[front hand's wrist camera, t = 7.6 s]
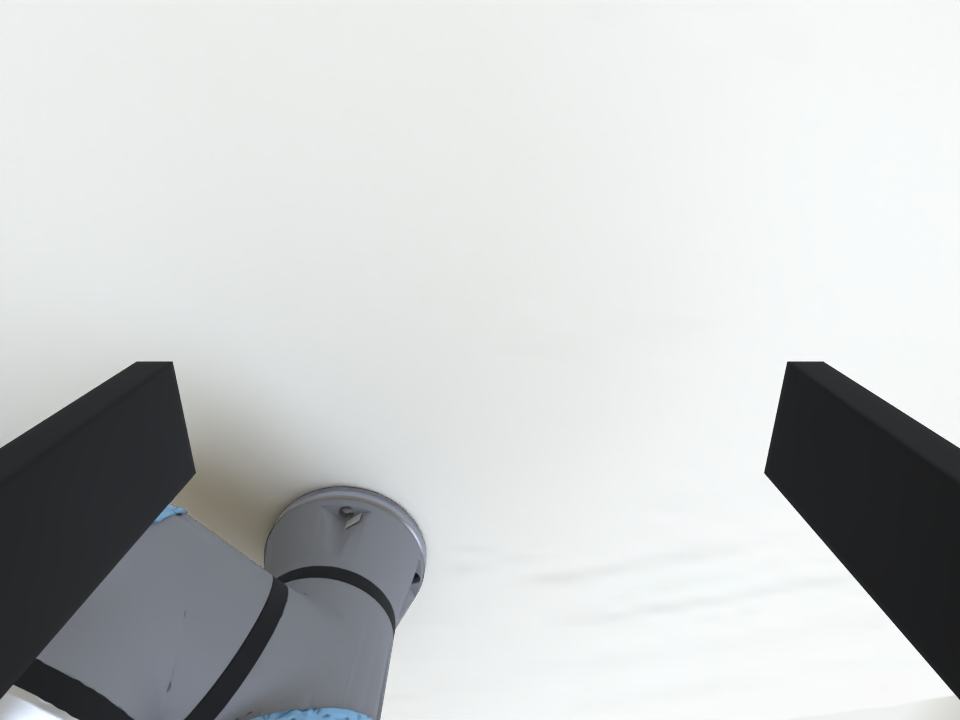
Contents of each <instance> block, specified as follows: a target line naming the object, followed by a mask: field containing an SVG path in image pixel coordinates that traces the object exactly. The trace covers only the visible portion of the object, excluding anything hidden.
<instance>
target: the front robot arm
mask: <svg viewBox="0 0 960 720" xmlns="http://www.w3.org/2000/svg"><path fill="white" fill-rule="evenodd" d="M195 473H196V472H195V467H194V462H193V457H192V452H191V447H190V443H189V438H188V433H187V428H186V423H185V419H184V414H183V409H182V404H181V399H180V395H179V390H178V385H177V380H176V375H175V371H174V366H173V362H135V363H134V364H132V365H131V366H129V367H127V368H126V369H124V370H123V371H121V372H120V373H118V374H116V375H115V376H113V377H112V378H110V379H109V380H107V381H105V382H104V383H102V384H101V385H99V386H98V387H96V388H94V389H93V390H91V391H90V392H88V393H87V394H85V395H83V396H82V397H80V398H79V399H77V400H76V401H74V402H72V403H71V404H69V405H68V406H66V407H65V408H63V409H61V410H60V411H58V412H57V413H55V414H54V415H52V416H50V417H49V418H47V419H46V420H44V421H43V422H41V423H39V424H38V425H36V426H35V427H33V428H32V429H30V430H28V431H27V432H25V433H24V434H22V435H20V436H19V437H17V438H16V439H14V440H13V441H11V442H9V443H8V444H6V445H5V446H3V447H2V448H0V720H380V717H381V712H382V706H383V700H384V694H385V688H386V682H387V676H388V670H389V664H390V658H391V652H392V646H393V639H394V633H395V629H396V627H397V626H398V624H399V622H400V621H401V619H402V618H403V616H404V614H405V613H406V611H407V610H408V608H409V606H410V605H411V603H412V602H413V600H414V598H415V597H416V595H417V593H418V591H419V589H420V587H421V585H422V582H423V578H424V572H425V564H426V547H425V542H424V539H423V536H422V534H421V531H420V529H419V528H418V526H417V524H416V523H415V522H414V520H413V519H412V518H411V517H410V515H409V514H408V513H407V512H406V511H405V510H404V509H402V508H401V507H400V506H399V505H397V504H396V503H394V502H393V501H391V500H390V499H388V498H386V497H384V496H382V495H379V494H377V493H374V492H371V491H368V490H364V489H359V488H352V487H332V488H325V489H320V490H317V491H313V492H311V493H308V494H306V495H304V496H302V497H300V498H298V499H297V500H295V501H294V502H292V503H291V504H290V505H289V506H288V507H287V508H286V509H285V510H284V511H283V512H282V513H281V514H280V516H279V517H278V519H277V521H276V522H275V524H274V526H273V528H272V530H271V532H270V534H269V536H268V538H267V541H266V545H265V550H264V569H263V568H261V567H260V566H259V565H257V564H256V563H254V562H253V561H251V560H250V559H249V558H247V557H246V556H245V555H243V554H242V553H240V552H239V551H238V550H236V549H235V548H233V547H232V546H231V545H229V544H228V543H226V542H225V541H224V540H222V539H221V538H219V537H218V536H217V535H215V534H214V533H213V532H211V531H210V530H208V529H207V528H206V527H204V526H203V525H201V524H200V523H199V522H197V521H196V520H194V519H193V518H192V517H190V516H189V515H187V511H186V510H185V509H183V508H179V507H174V506H173V505H171V504H169V503H170V502H171V501H172V500H173V499H174V498H175V497H176V495H177V494H178V493H179V492H180V491H181V490H182V488H183V487H184V486H185V485H186V484H187V483H188V481H189V480H190V479H191V478H192V477H193V476H194V475H195ZM764 473H765V475H766V476H767V477H768V478H769V479H770V480H771V481H772V483H773V484H774V485H775V486H776V487H777V488H778V490H779V491H780V492H781V493H782V494H783V495H784V497H785V498H786V499H787V500H788V501H789V502H790V503H791V505H792V506H793V507H794V508H795V509H796V510H797V512H798V513H799V514H800V515H801V516H802V517H803V519H804V520H805V521H806V522H807V523H808V524H809V526H810V527H811V528H812V529H813V530H814V531H815V532H816V534H817V535H818V536H819V537H820V538H821V539H822V541H823V542H824V543H825V544H826V545H827V546H828V548H829V549H830V550H831V551H832V552H833V553H834V555H835V556H836V557H837V558H838V559H839V560H840V561H841V563H842V564H843V565H844V566H845V567H846V568H847V570H848V571H849V572H850V573H851V574H852V575H853V577H854V578H855V579H856V580H857V581H858V582H859V583H860V585H861V586H862V587H863V588H864V589H865V590H866V592H867V593H868V594H869V595H870V596H871V597H872V599H873V600H874V601H875V602H876V603H877V604H878V606H879V607H880V608H881V609H882V610H883V611H884V612H885V614H886V615H887V616H888V617H889V618H890V619H891V621H892V622H893V623H894V624H895V625H896V626H897V628H898V629H899V630H900V631H901V632H902V633H903V635H904V636H905V637H906V638H907V639H908V640H909V641H910V643H911V644H912V645H913V646H914V647H915V648H916V650H917V651H918V652H919V653H920V654H921V655H922V657H923V658H924V659H925V660H926V661H927V662H928V663H929V665H930V666H931V667H932V668H933V669H934V670H935V672H936V673H937V674H938V675H939V676H940V677H941V679H942V680H943V681H944V682H945V683H946V684H947V686H948V687H949V688H950V689H951V690H952V691H953V692H954V694H955V695H956V696H957V697H958V698H959V699H960V448H958V447H957V446H955V445H954V444H952V443H951V442H949V441H947V440H946V439H944V438H943V437H941V436H940V435H938V434H936V433H935V432H933V431H932V430H930V429H928V428H927V427H925V426H924V425H922V424H921V423H919V422H917V421H916V420H914V419H913V418H911V417H910V416H908V415H906V414H905V413H903V412H902V411H900V410H899V409H897V408H895V407H894V406H892V405H891V404H889V403H888V402H886V401H884V400H883V399H881V398H880V397H878V396H877V395H875V394H873V393H872V392H870V391H869V390H867V389H866V388H864V387H862V386H861V385H859V384H858V383H856V382H855V381H853V380H851V379H850V378H848V377H847V376H845V375H844V374H842V373H840V372H839V371H837V370H836V369H834V368H833V367H831V366H829V365H828V364H826V363H825V362H787V366H786V370H785V375H784V380H783V385H782V390H781V395H780V399H779V404H778V409H777V414H776V419H775V423H774V428H773V433H772V438H771V443H770V447H769V452H768V457H767V462H766V467H765V472H764Z"/></svg>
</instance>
